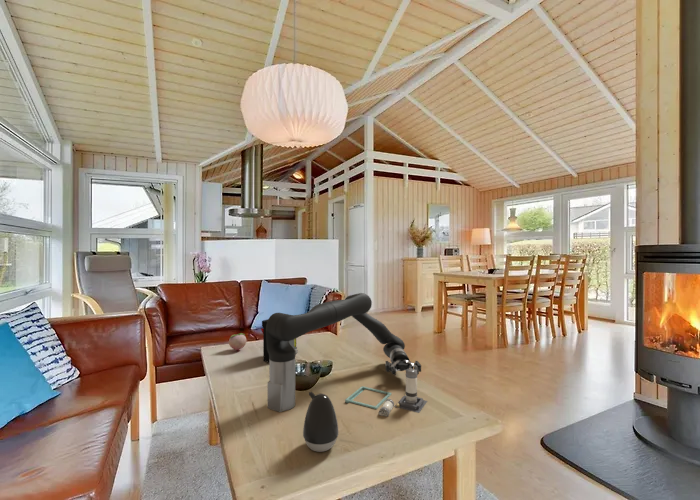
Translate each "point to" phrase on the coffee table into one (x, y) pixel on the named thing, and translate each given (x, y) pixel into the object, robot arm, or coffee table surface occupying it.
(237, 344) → the decorative fruit
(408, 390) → the fuse
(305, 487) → the coffee table surface
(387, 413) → the cylinder
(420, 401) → the holder block
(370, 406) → the teal square frame
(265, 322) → the electrical component
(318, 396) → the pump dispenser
